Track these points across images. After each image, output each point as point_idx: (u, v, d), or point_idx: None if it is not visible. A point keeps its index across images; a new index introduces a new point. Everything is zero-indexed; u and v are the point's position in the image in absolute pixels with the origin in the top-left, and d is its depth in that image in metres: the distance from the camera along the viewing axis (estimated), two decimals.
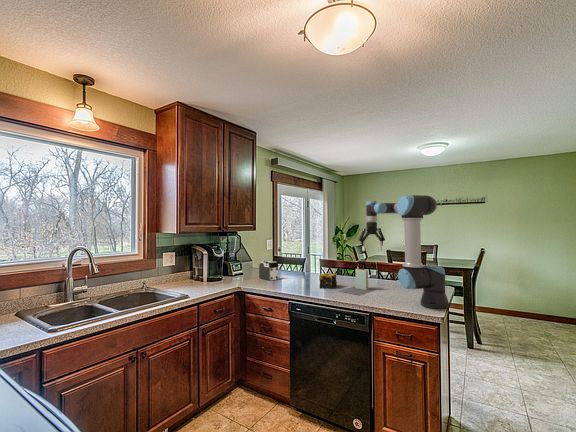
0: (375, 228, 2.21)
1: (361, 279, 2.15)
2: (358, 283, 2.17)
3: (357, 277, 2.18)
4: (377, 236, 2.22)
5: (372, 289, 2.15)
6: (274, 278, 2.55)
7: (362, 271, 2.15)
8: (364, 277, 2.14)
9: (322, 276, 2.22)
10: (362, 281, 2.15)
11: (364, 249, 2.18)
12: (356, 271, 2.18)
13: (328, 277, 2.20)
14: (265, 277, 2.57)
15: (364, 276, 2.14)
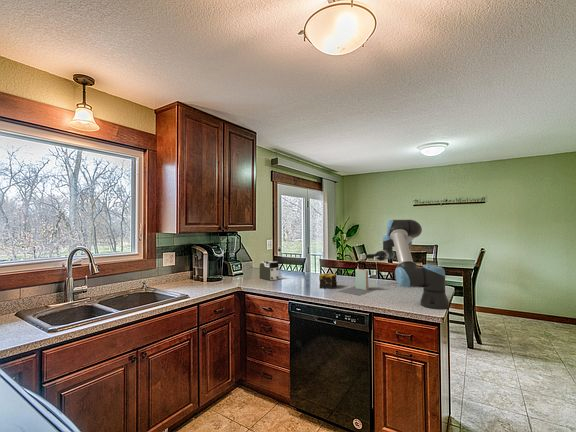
0: (382, 254, 2.34)
1: (361, 279, 2.15)
2: (358, 283, 2.17)
3: (357, 277, 2.18)
4: None
5: (372, 289, 2.15)
6: (274, 278, 2.55)
7: (362, 271, 2.15)
8: (364, 277, 2.14)
9: (322, 276, 2.22)
10: (362, 281, 2.15)
11: None
12: (356, 271, 2.18)
13: (328, 277, 2.20)
14: (266, 278, 2.56)
15: (364, 276, 2.14)
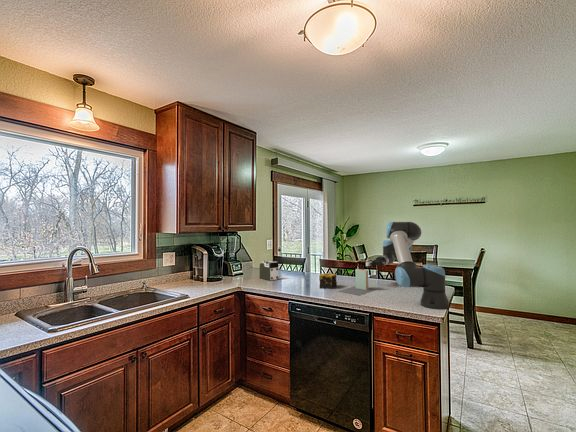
0: (382, 260, 2.34)
1: (361, 279, 2.15)
2: (358, 283, 2.17)
3: (357, 277, 2.18)
4: None
5: (372, 289, 2.15)
6: (274, 278, 2.55)
7: (362, 271, 2.15)
8: (364, 277, 2.14)
9: (322, 276, 2.22)
10: (362, 281, 2.15)
11: (367, 262, 2.24)
12: (356, 271, 2.18)
13: (328, 277, 2.20)
14: (266, 278, 2.57)
15: (364, 276, 2.14)
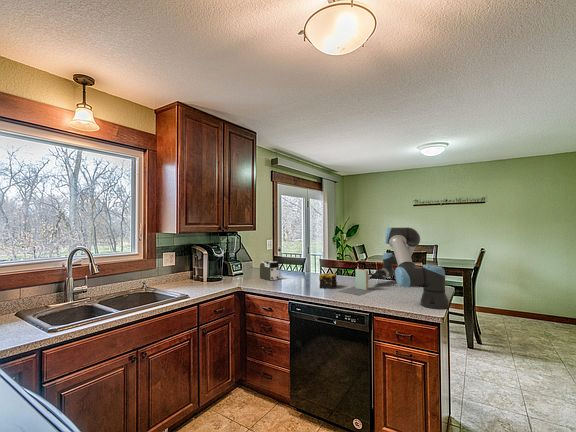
0: (382, 273, 2.33)
1: (361, 279, 2.15)
2: (358, 283, 2.17)
3: (357, 277, 2.18)
4: None
5: (372, 289, 2.15)
6: (275, 278, 2.55)
7: (362, 271, 2.15)
8: (364, 277, 2.14)
9: (322, 276, 2.22)
10: (362, 281, 2.15)
11: None
12: (356, 271, 2.18)
13: (328, 277, 2.20)
14: (266, 278, 2.57)
15: (364, 276, 2.14)
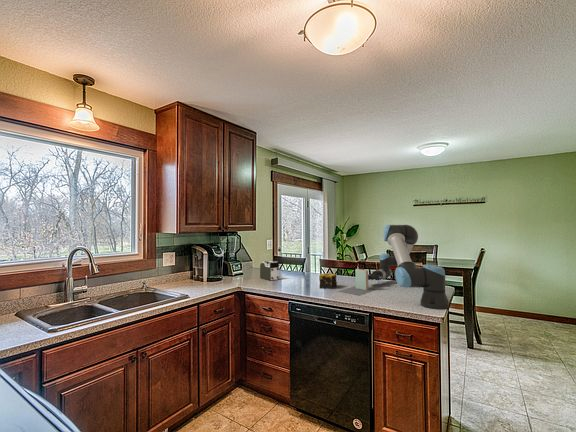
0: (379, 274, 2.30)
1: (361, 279, 2.15)
2: (358, 283, 2.17)
3: (357, 277, 2.18)
4: None
5: (372, 289, 2.15)
6: (275, 278, 2.55)
7: (362, 271, 2.15)
8: (364, 277, 2.14)
9: (322, 276, 2.22)
10: (362, 281, 2.15)
11: None
12: (356, 271, 2.18)
13: (328, 277, 2.20)
14: (266, 278, 2.57)
15: (364, 276, 2.14)
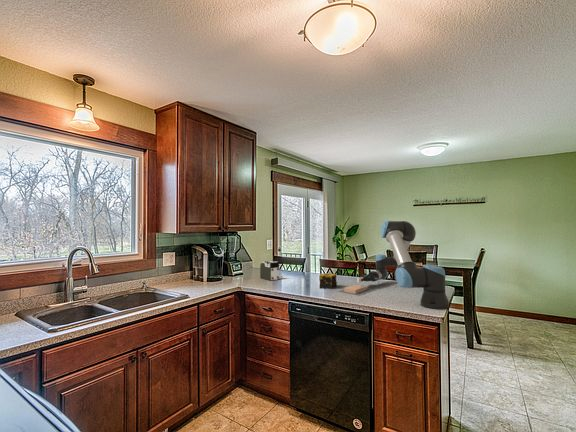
0: (375, 275, 2.25)
1: None
2: None
3: None
4: None
5: (372, 289, 2.15)
6: (275, 278, 2.55)
7: None
8: None
9: (322, 276, 2.22)
10: None
11: (358, 278, 2.15)
12: None
13: (328, 277, 2.20)
14: (266, 277, 2.57)
15: None
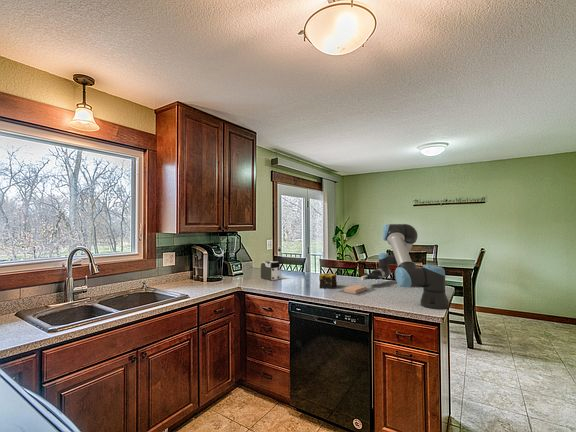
0: (378, 274, 2.29)
1: None
2: None
3: None
4: None
5: (372, 289, 2.15)
6: (276, 278, 2.55)
7: None
8: None
9: (322, 276, 2.22)
10: None
11: (362, 276, 2.19)
12: None
13: (328, 277, 2.20)
14: (267, 277, 2.57)
15: None
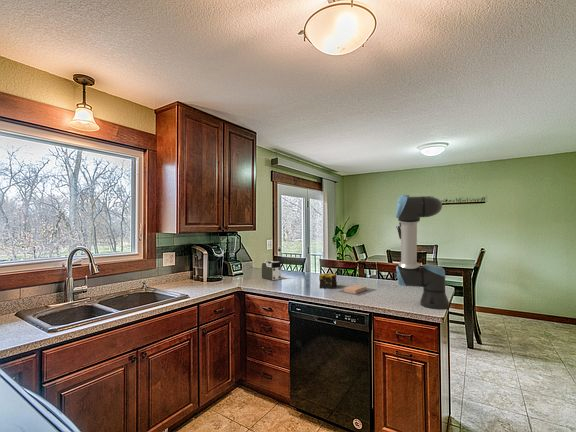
0: None
1: None
2: None
3: None
4: None
5: (372, 289, 2.15)
6: (277, 278, 2.56)
7: None
8: None
9: (322, 276, 2.22)
10: None
11: None
12: None
13: (328, 277, 2.20)
14: (268, 277, 2.57)
15: None
